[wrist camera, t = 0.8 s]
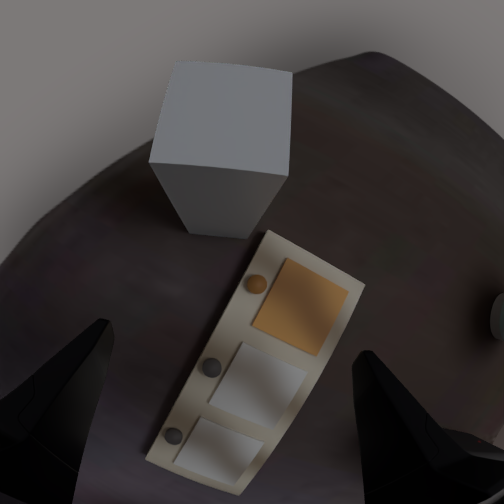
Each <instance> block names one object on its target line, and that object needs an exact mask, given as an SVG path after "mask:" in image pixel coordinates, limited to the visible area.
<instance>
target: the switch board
mask: <svg viewBox="0 0 504 504" xmlns="http://www.w3.org/2000/svg"><path fill="white" fill-rule="evenodd" d="M364 286H365V284H363V283H361V282H360V281H358V280H356V279H355V278H353V277H351V276H349V275H348V274H346V273H344V272H343V271H341V270H339V269H337V268H336V267H334V266H332V265H330V264H329V263H327V262H325V261H323V260H322V259H320V258H318V257H316V256H315V255H313V254H311V253H309V252H307V251H306V250H304V249H302V248H300V247H299V246H297V245H295V244H293V243H291V242H290V241H288V240H286V239H284V238H282V237H281V236H279V235H277V234H275V233H273V232H272V231H270V230H268V231H267V232H266V233H265V235H264V237H263V239H262V241H261V242H260V244H259V246H258V248H257V250H256V252H255V254H254V256H253V257H252V259H251V261H250V263H249V265H248V267H247V269H246V271H245V272H244V274H243V276H242V278H241V280H240V282H239V284H238V286H237V287H236V289H235V291H234V293H233V295H232V297H231V299H230V301H229V302H228V304H227V306H226V308H225V310H224V312H223V314H222V316H221V317H220V319H219V321H218V323H217V325H216V327H215V329H214V331H213V332H212V334H211V336H210V338H209V340H208V342H207V344H206V345H205V347H204V349H203V351H202V353H201V355H200V357H199V359H198V360H197V362H196V364H195V366H194V368H193V370H192V372H191V373H190V375H189V377H188V379H187V381H186V383H185V385H184V386H183V388H182V390H181V392H180V394H179V396H178V398H177V399H176V401H175V403H174V405H173V407H172V409H171V411H170V412H169V414H168V416H167V418H166V420H165V422H164V424H163V425H162V427H161V429H160V431H159V433H158V435H157V437H156V438H155V440H154V442H153V444H152V446H151V448H150V450H149V451H148V453H147V456H146V458H145V459H146V460H148V461H150V462H152V463H154V464H156V465H158V466H160V467H163V468H165V469H167V470H169V471H172V472H174V473H176V474H179V475H181V476H184V477H186V478H189V479H191V480H194V481H196V482H199V483H202V484H205V485H207V486H210V487H213V488H216V489H219V490H222V491H225V492H229V493H232V494H235V495H240V494H241V493H242V492H243V490H244V489H245V488H246V486H247V485H248V484H249V483H250V481H251V480H252V479H253V477H254V476H255V475H256V473H257V472H258V471H259V469H260V468H261V467H262V465H263V464H264V462H265V461H266V460H267V458H268V457H269V455H270V454H271V453H272V451H273V450H274V448H275V447H276V445H277V444H278V442H279V441H280V440H281V438H282V437H283V435H284V434H285V432H286V430H287V429H288V427H289V426H290V424H291V423H292V421H293V420H294V418H295V416H296V415H297V413H298V412H299V410H300V408H301V407H302V405H303V404H304V402H305V400H306V399H307V397H308V395H309V394H310V392H311V390H312V388H313V387H314V385H315V383H316V382H317V380H318V378H319V376H320V374H321V373H322V371H323V369H324V367H325V365H326V364H327V362H328V360H329V358H330V356H331V354H332V352H333V351H334V349H335V347H336V345H337V343H338V341H339V339H340V337H341V335H342V333H343V331H344V329H345V327H346V325H347V323H348V321H349V319H350V317H351V315H352V313H353V310H354V308H355V306H356V304H357V302H358V300H359V297H360V295H361V293H362V291H363V289H364Z"/></svg>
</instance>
